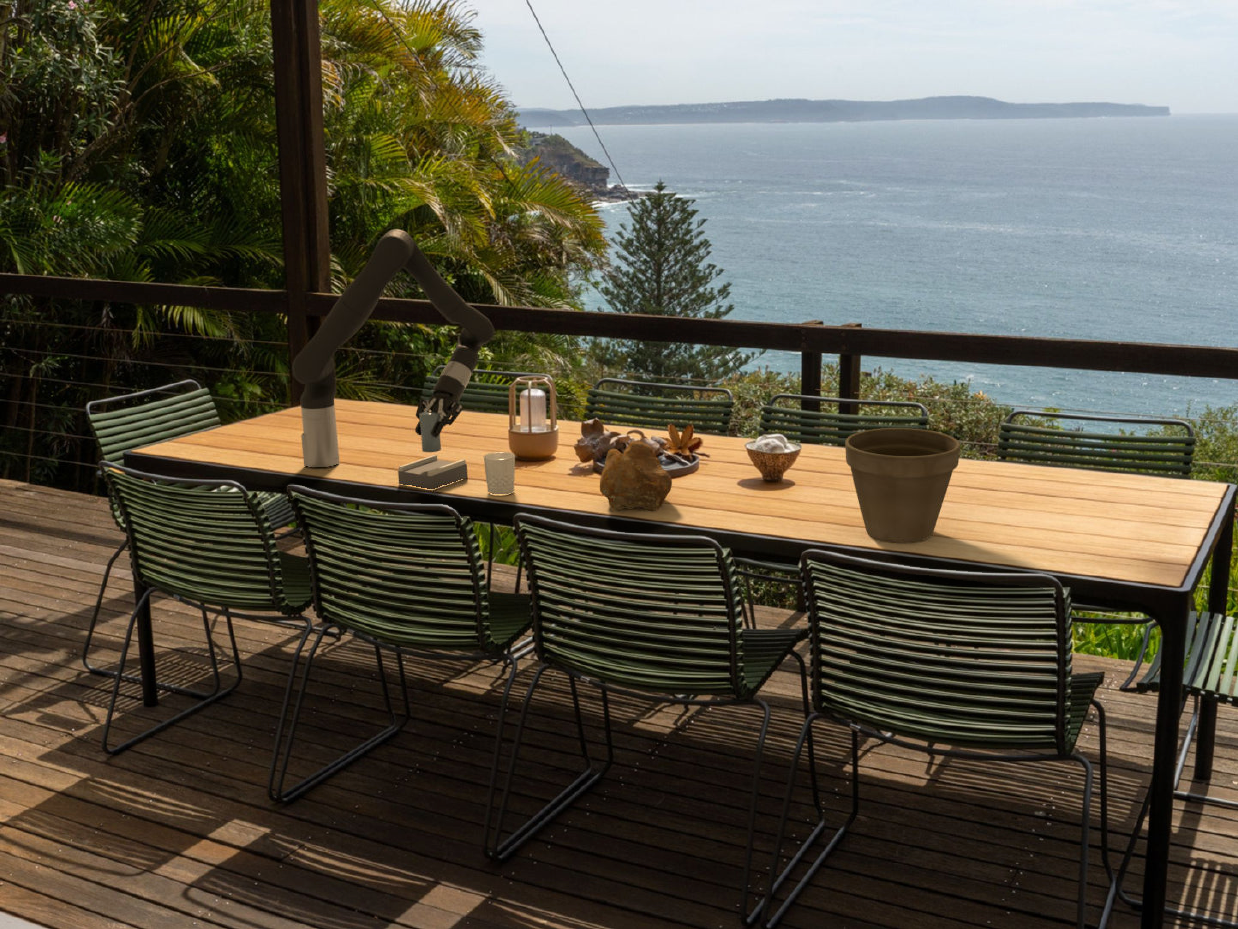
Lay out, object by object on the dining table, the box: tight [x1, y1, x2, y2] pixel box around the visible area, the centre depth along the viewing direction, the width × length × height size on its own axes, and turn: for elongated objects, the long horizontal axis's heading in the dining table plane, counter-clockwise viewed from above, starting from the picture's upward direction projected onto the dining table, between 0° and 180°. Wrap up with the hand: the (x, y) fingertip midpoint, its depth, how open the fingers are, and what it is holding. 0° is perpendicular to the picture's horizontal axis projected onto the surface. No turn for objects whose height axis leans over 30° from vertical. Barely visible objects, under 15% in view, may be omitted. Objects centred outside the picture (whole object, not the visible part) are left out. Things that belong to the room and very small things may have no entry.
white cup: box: [483, 451, 516, 494], centre depth 308 cm, size 8×8×10 cm
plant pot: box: [845, 427, 961, 544], centre depth 267 cm, size 25×25×22 cm
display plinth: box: [397, 454, 468, 489], centre depth 321 cm, size 14×12×5 cm
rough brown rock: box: [599, 440, 673, 511], centre depth 295 cm, size 23×17×15 cm
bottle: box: [420, 411, 442, 453], centre depth 318 cm, size 5×5×10 cm
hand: (425, 434), depth 316 cm, fingers closed on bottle, 5 cm apart
